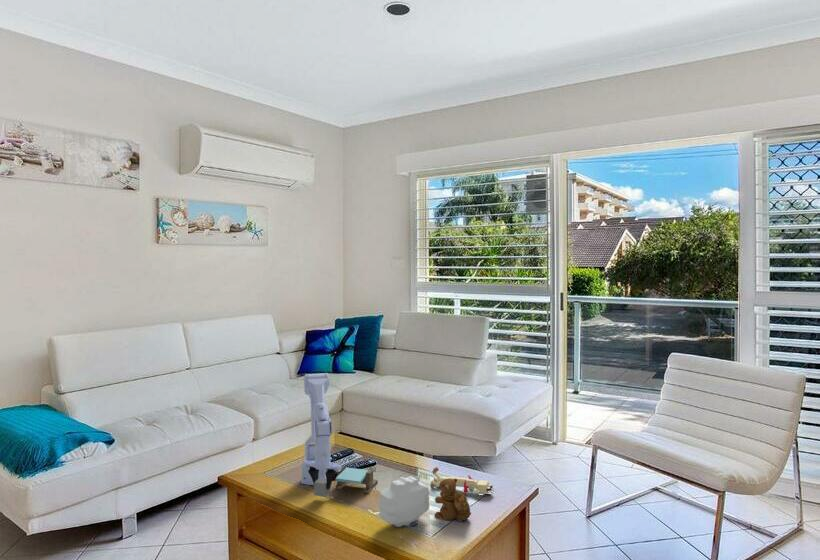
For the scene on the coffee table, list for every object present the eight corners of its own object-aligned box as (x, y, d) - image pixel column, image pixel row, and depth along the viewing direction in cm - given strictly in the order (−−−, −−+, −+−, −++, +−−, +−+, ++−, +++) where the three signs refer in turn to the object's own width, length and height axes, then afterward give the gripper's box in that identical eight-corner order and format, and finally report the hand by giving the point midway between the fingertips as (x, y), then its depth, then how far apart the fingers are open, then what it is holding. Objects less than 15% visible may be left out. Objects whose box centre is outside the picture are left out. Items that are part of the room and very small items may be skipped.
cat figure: (429, 493, 206) (490, 499, 197) (427, 471, 206) (489, 476, 197) (437, 483, 215) (496, 489, 206) (435, 462, 215) (494, 467, 206)
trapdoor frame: (335, 488, 206) (335, 470, 206) (345, 478, 216) (345, 460, 215) (369, 493, 202) (369, 474, 202) (377, 482, 212) (377, 464, 212)
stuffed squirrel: (447, 505, 193) (447, 471, 192) (478, 518, 184) (479, 482, 183) (430, 515, 185) (430, 479, 185) (461, 529, 176) (462, 491, 176)
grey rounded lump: (433, 521, 181) (433, 476, 180) (390, 537, 170) (391, 489, 170) (414, 509, 190) (414, 466, 189) (372, 523, 179) (373, 478, 178)
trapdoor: (335, 489, 201) (335, 478, 200) (346, 478, 211) (346, 467, 211) (359, 493, 198) (359, 481, 198) (369, 481, 209) (369, 470, 208)
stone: (314, 495, 194) (314, 482, 194) (319, 490, 199) (319, 477, 199) (325, 496, 193) (325, 483, 193) (330, 491, 198) (330, 478, 197)
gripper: (300, 453, 193) (300, 489, 194) (336, 458, 190) (335, 494, 190) (308, 447, 200) (308, 481, 201) (343, 451, 196) (343, 486, 197)
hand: (322, 487), depth 196 cm, fingers closed on stone, 4 cm apart
